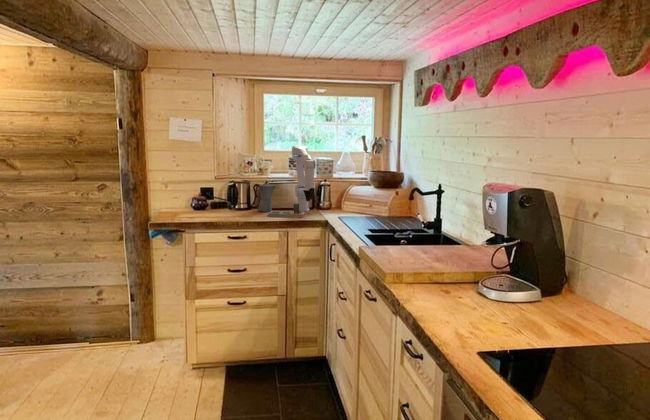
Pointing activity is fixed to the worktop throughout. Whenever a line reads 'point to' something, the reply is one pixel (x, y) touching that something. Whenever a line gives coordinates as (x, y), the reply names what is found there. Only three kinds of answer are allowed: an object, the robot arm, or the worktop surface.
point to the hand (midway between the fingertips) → (309, 200)
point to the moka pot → (265, 196)
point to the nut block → (297, 208)
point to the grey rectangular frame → (285, 214)
